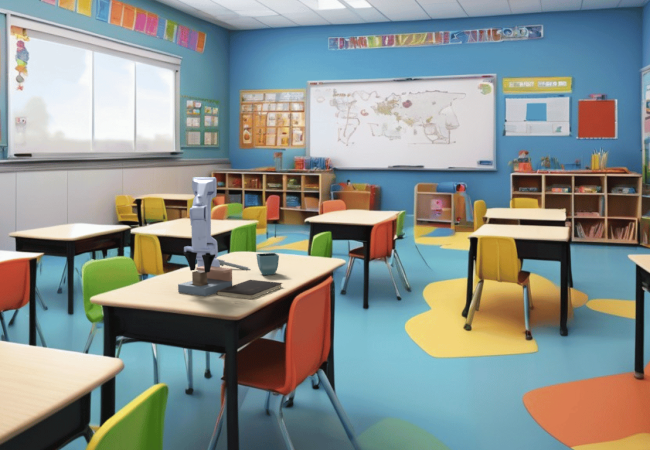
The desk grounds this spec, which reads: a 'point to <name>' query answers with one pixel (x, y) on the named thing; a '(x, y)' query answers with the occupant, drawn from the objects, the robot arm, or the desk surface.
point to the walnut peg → (199, 278)
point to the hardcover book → (249, 289)
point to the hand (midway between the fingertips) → (200, 271)
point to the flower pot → (267, 263)
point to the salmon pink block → (218, 273)
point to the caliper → (232, 265)
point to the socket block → (204, 287)
